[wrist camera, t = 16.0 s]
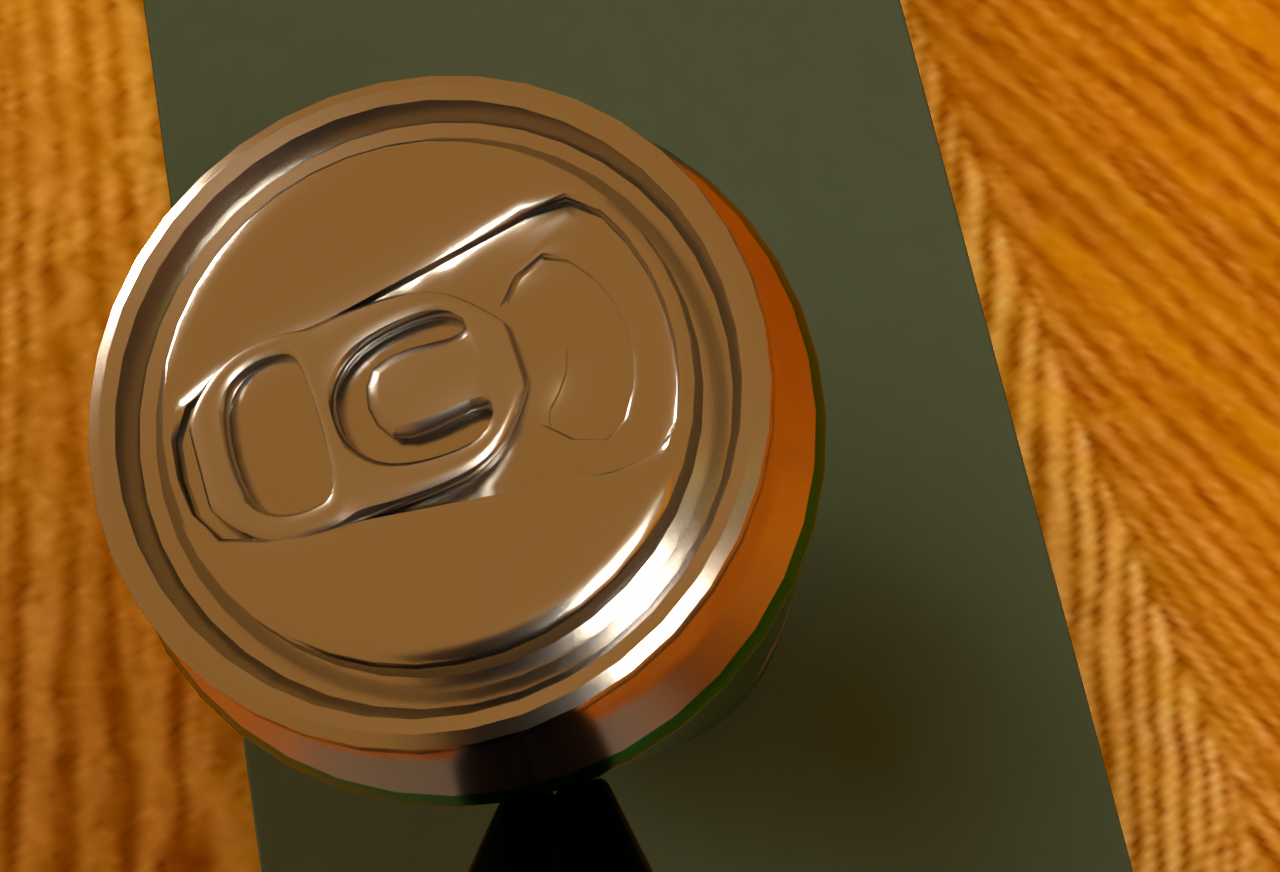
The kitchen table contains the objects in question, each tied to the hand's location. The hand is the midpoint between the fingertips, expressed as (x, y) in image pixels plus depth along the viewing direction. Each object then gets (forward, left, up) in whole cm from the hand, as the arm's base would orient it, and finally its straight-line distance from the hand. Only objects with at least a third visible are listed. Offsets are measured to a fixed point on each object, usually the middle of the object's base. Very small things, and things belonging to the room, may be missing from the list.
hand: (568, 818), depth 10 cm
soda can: (+2, +1, -9) cm, 10 cm away
